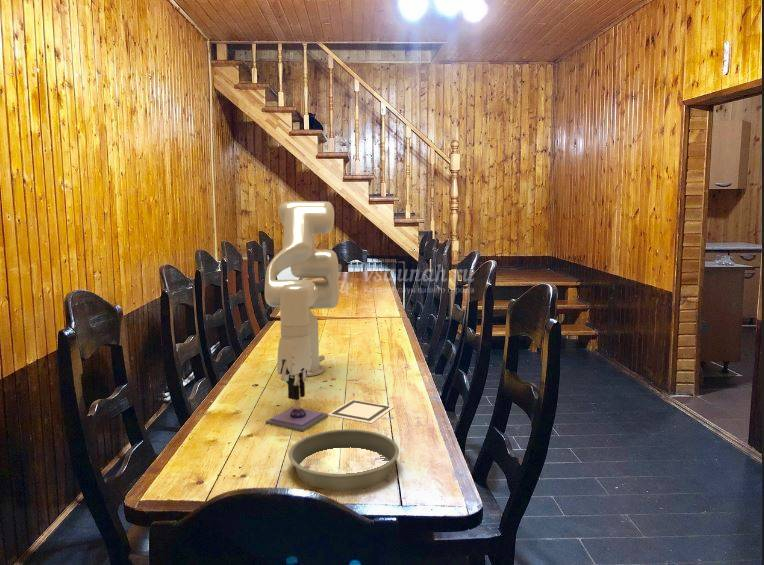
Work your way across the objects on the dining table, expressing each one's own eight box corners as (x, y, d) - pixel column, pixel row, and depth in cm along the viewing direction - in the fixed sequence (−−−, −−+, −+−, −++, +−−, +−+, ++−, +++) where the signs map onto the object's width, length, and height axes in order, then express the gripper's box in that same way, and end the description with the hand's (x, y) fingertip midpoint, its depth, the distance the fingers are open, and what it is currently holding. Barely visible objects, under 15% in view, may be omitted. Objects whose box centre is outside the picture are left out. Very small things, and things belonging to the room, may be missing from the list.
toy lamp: (289, 419, 162) (287, 358, 160) (287, 413, 166) (285, 353, 164) (307, 417, 163) (306, 357, 161) (304, 411, 168) (303, 352, 165)
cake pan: (320, 440, 152) (320, 423, 152) (413, 455, 144) (413, 437, 143) (267, 483, 130) (266, 463, 129) (374, 504, 121) (374, 483, 120)
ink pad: (292, 409, 173) (292, 405, 173) (328, 416, 168) (327, 411, 168) (265, 423, 163) (265, 418, 162) (303, 431, 157) (303, 426, 157)
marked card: (352, 400, 181) (352, 398, 181) (394, 407, 175) (394, 406, 175) (326, 415, 169) (326, 413, 169) (371, 423, 163) (371, 422, 163)
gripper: (300, 323, 170) (301, 387, 173) (265, 335, 156) (267, 404, 159) (323, 326, 167) (324, 391, 169) (289, 338, 153) (290, 408, 155)
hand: (296, 397), depth 164 cm, fingers closed on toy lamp
